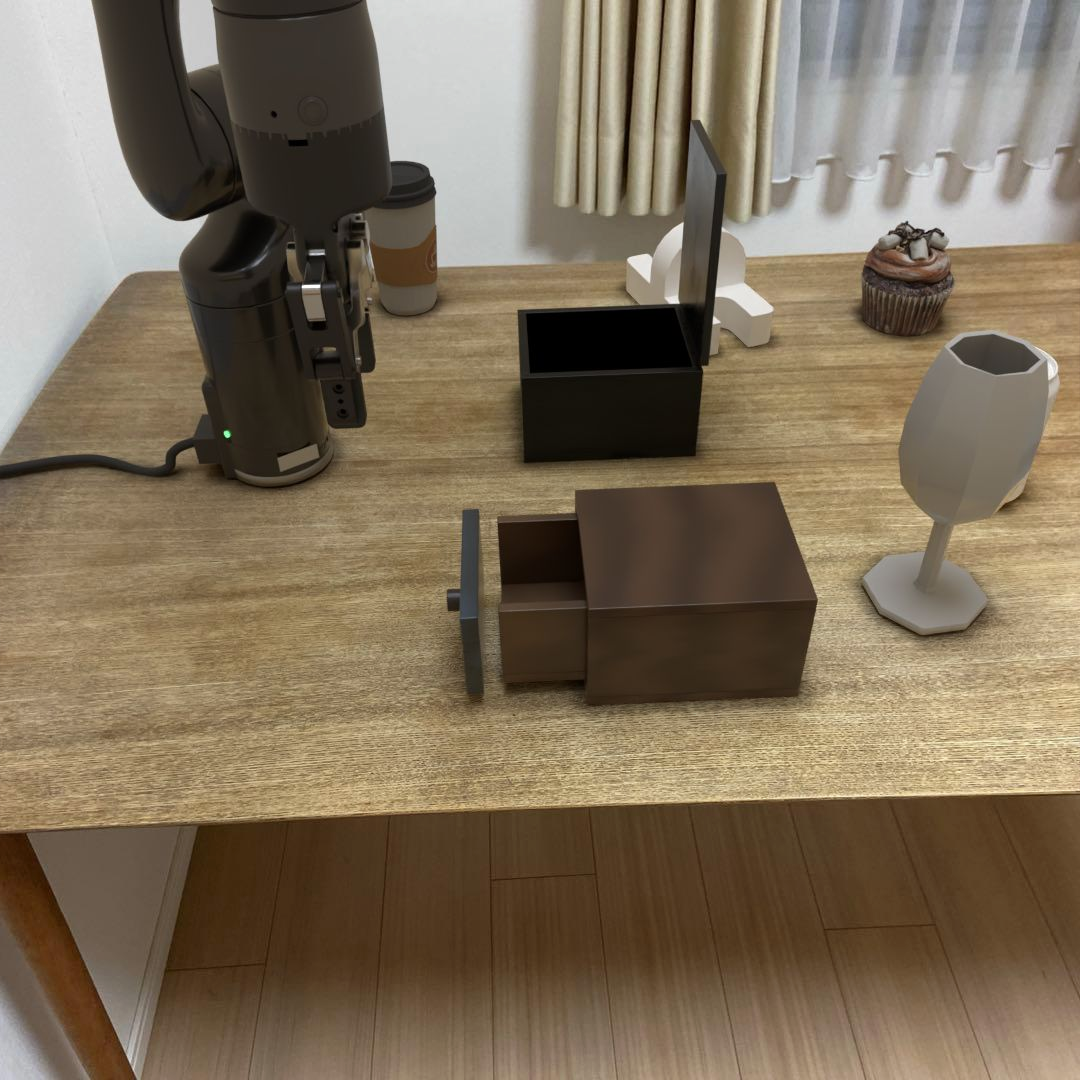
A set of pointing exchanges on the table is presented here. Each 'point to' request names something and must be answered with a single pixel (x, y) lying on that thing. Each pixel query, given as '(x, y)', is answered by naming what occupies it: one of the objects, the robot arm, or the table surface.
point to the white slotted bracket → (733, 296)
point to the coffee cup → (405, 240)
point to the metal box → (608, 383)
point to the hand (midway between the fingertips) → (353, 395)
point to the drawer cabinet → (692, 593)
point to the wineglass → (961, 469)
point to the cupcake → (906, 281)
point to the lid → (701, 239)
